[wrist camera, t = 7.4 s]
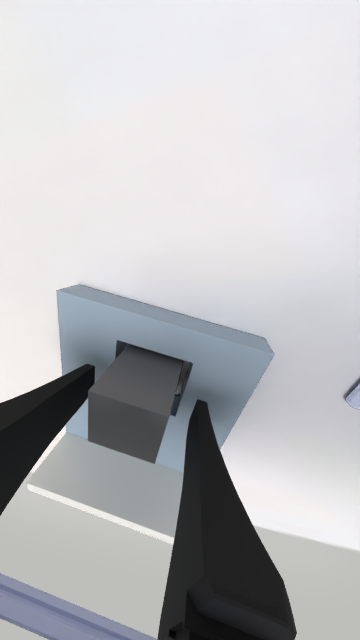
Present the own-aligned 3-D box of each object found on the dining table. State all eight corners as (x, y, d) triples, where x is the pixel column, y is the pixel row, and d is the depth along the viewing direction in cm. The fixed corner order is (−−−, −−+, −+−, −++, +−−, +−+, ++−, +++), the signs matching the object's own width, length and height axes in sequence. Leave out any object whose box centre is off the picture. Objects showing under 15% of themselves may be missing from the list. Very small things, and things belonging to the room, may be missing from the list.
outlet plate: (264, 338, 12) (311, 415, 6) (200, 462, 18) (195, 552, 13) (78, 284, 13) (-23, 310, 7) (80, 421, 19) (28, 490, 14)
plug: (186, 347, 13) (169, 416, 8) (174, 387, 15) (154, 466, 9) (138, 333, 13) (87, 390, 8) (132, 373, 15) (87, 443, 10)
